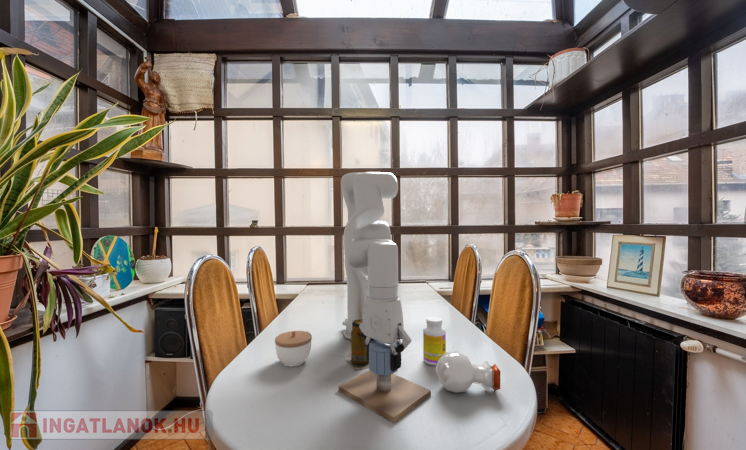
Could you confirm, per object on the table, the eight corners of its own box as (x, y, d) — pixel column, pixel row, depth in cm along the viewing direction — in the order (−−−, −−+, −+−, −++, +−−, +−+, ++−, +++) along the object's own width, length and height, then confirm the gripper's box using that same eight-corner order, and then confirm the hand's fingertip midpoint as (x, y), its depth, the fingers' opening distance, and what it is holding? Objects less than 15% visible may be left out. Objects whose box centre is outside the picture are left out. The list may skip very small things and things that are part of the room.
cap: (363, 368, 75) (363, 344, 75) (382, 358, 80) (382, 336, 80) (384, 378, 70) (384, 352, 70) (403, 367, 75) (403, 343, 75)
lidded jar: (319, 361, 92) (318, 330, 92) (287, 374, 85) (287, 341, 85) (299, 351, 100) (298, 323, 100) (268, 362, 92) (268, 331, 92)
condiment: (366, 354, 97) (366, 316, 97) (378, 365, 90) (378, 324, 90) (345, 358, 94) (345, 320, 94) (356, 370, 87) (355, 328, 87)
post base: (338, 390, 76) (338, 368, 76) (376, 370, 87) (376, 350, 86) (394, 423, 64) (393, 396, 64) (430, 395, 74) (430, 371, 74)
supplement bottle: (446, 367, 88) (445, 323, 88) (422, 365, 89) (422, 321, 89) (445, 357, 95) (445, 316, 94) (423, 355, 96) (423, 315, 96)
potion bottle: (432, 391, 78) (491, 400, 77) (439, 386, 70) (505, 396, 69) (432, 353, 83) (488, 361, 82) (439, 344, 75) (501, 353, 74)
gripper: (348, 289, 78) (348, 358, 78) (401, 301, 66) (402, 382, 66) (368, 284, 84) (369, 349, 84) (421, 294, 72) (421, 370, 72)
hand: (383, 363), depth 75 cm, fingers closed on cap, 7 cm apart
